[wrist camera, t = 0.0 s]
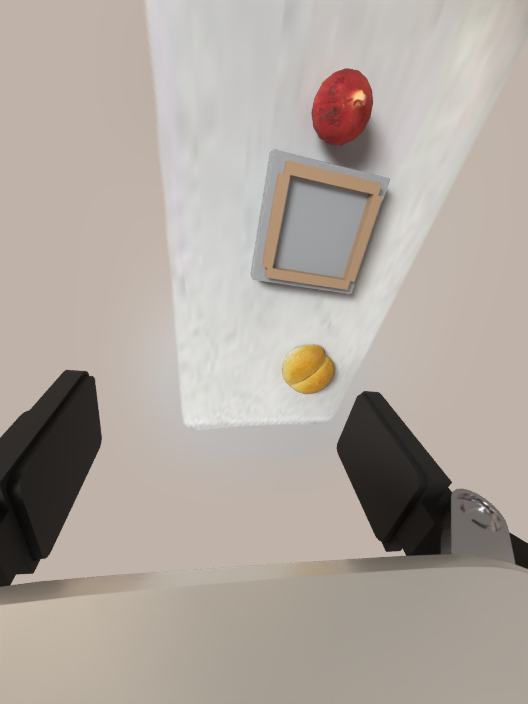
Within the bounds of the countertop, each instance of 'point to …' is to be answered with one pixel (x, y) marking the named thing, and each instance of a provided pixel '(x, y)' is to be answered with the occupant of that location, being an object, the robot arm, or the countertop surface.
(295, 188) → the stand
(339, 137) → the pomegranate
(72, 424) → the robot arm
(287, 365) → the bread roll
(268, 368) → the countertop surface
